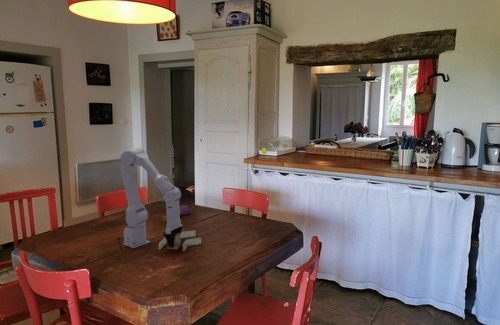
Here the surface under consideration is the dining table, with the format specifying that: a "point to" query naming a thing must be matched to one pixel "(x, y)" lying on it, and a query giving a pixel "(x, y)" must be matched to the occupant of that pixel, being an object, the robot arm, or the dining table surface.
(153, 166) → the robot arm
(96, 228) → the dining table surface
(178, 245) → the maple block
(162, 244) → the rail track
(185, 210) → the kendama
